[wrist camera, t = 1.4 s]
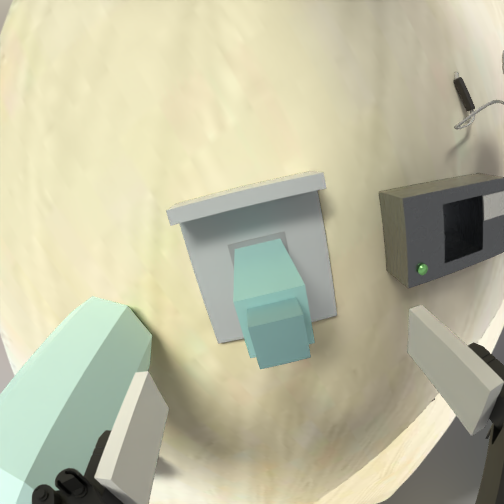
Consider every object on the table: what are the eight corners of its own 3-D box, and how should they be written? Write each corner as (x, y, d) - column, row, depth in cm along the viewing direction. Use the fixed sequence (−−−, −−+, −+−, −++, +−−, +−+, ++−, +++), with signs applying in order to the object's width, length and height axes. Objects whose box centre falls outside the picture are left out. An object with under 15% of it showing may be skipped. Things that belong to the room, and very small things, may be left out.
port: (378, 191, 26) (404, 198, 21) (482, 172, 25) (510, 177, 21) (386, 270, 28) (409, 289, 23) (484, 239, 28) (510, 250, 23)
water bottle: (94, 370, 30) (11, 543, 6) (61, 296, 27) (-84, 462, 3) (169, 366, 30) (118, 589, 6) (140, 284, 27) (-2, 530, 3)
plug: (234, 249, 26) (232, 320, 14) (280, 238, 26) (313, 300, 14) (245, 290, 27) (251, 379, 16) (289, 280, 27) (322, 362, 15)
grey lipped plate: (175, 203, 25) (166, 210, 22) (311, 170, 25) (323, 172, 21) (218, 340, 29) (216, 361, 26) (335, 312, 29) (346, 331, 25)
